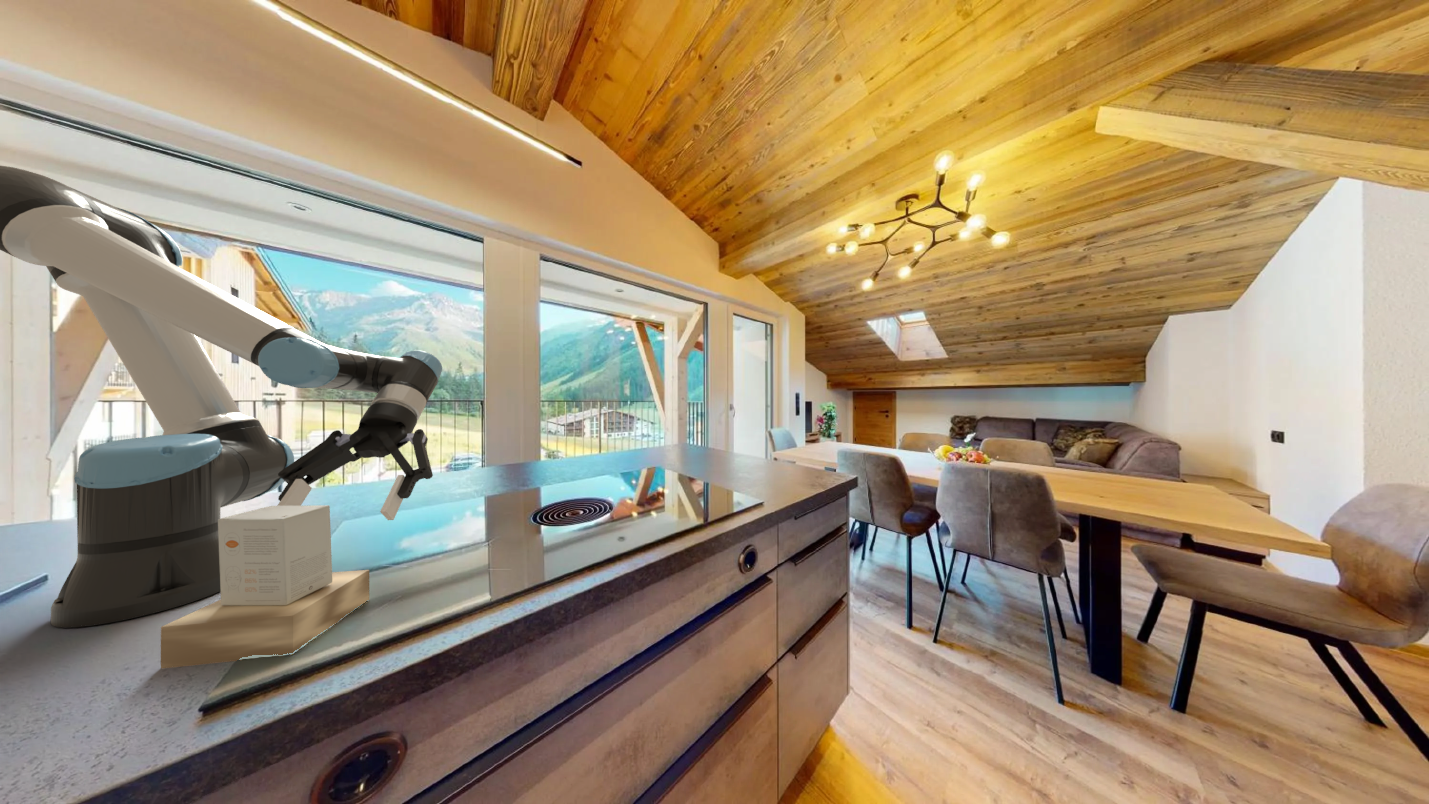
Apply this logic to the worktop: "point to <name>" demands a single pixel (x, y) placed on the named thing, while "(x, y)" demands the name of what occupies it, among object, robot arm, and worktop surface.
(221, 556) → the small box
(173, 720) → the worktop surface
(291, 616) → the maple block
